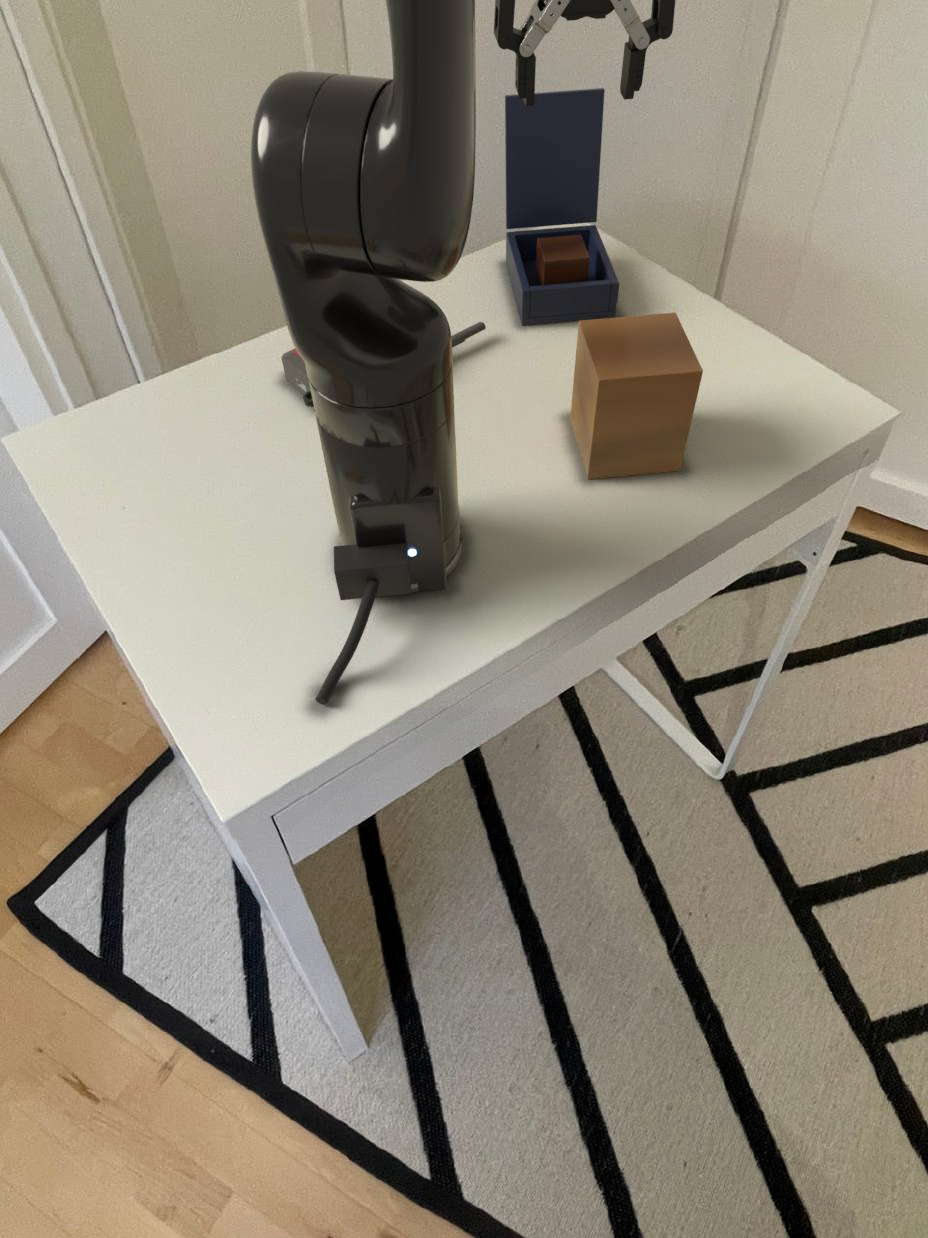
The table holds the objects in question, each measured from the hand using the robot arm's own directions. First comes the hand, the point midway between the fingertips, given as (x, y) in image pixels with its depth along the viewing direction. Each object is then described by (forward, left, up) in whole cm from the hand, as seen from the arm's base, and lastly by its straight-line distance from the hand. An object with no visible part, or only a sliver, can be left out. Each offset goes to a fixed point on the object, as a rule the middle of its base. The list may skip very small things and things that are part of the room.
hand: (577, 99), depth 73 cm
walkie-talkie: (-7, +19, -20) cm, 28 cm away
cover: (+9, 0, -9) cm, 13 cm away
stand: (-22, -1, -19) cm, 30 cm away
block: (+2, 0, -19) cm, 19 cm away
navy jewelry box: (+3, 0, -19) cm, 20 cm away
